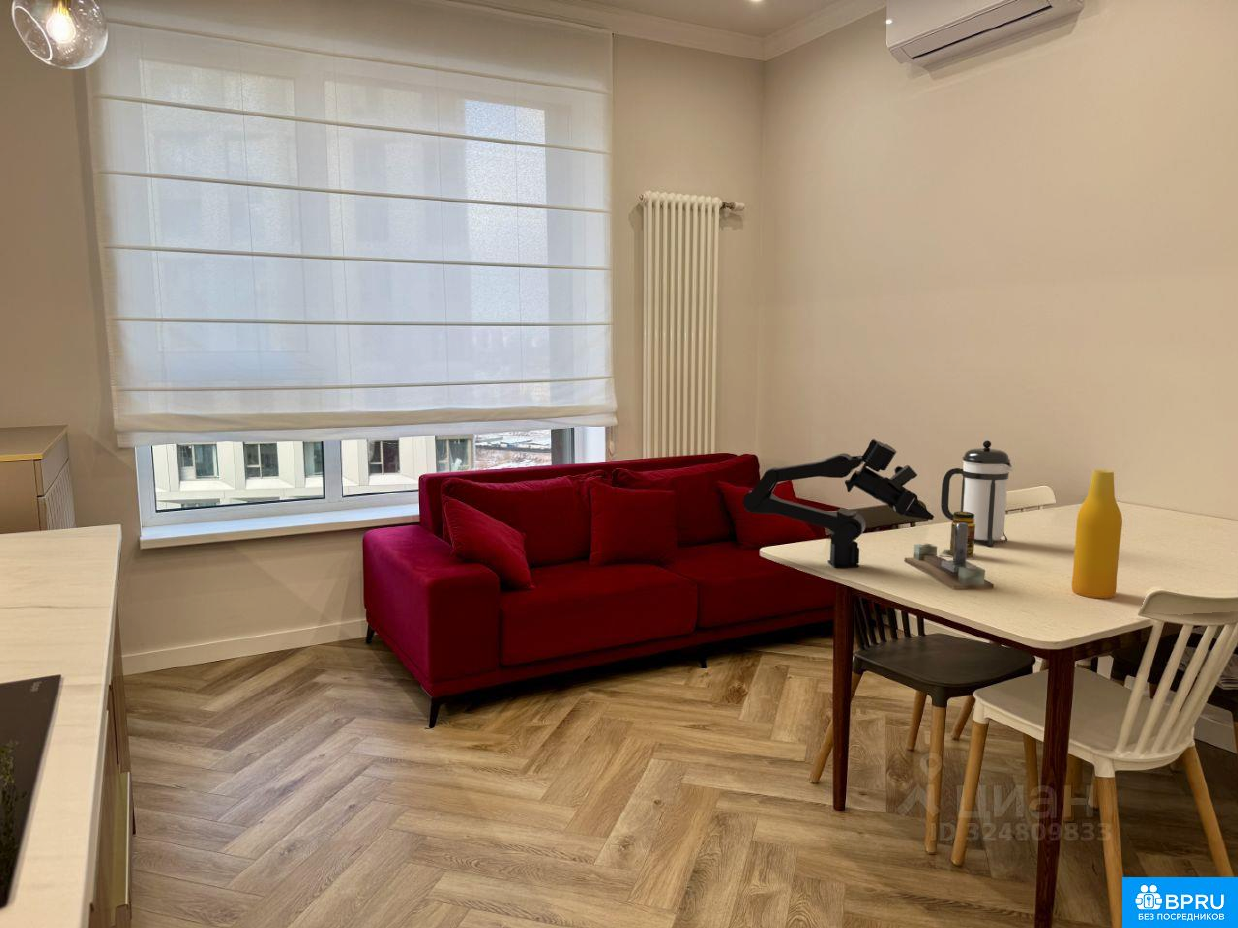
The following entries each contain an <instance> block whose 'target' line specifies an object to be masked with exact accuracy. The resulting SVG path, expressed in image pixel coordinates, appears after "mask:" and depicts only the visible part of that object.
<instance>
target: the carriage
mask: <svg viewBox="0 0 1238 928" xmlns="http://www.w3.org/2000/svg"><path fill="white" fill-rule="evenodd" d="M967 538H968V523H964V522H956V523H955V535H954V552H953V557H952V560H951V559H949V560H947V559H945V560H946V561H942V567H944V568H946V569H948V570H950V571H952V572H959V567H967V566H975V567H978V566H977V565H976V564H974V563H972V562H969V561H968V560H967V559H966V554H967Z"/></svg>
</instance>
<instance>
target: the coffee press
mask: <svg viewBox="0 0 1238 928" xmlns="http://www.w3.org/2000/svg"><path fill="white" fill-rule="evenodd" d="M982 446H983V448H972V449H969V450H967V451H966V452H965V453H964V456H962V461H963V468H960V467H955V468H954V467H953V468H952V469H948V470H947V472H945V474H944V476H943V479H942V485H941V486H942V487H941V499H940V500H941V512H942V514H943V515H944V517H945V518H947V520H950V521H952V522H953V517H954V515H953V514H954V513H952V512H950V509H949V498H950V497H949V496H950V495H949V493H950V483H951V482H950V481H951V478H952V477H953V475H961V476H962V480H961V481H962V482H961V485H962V486H961V500H960V501H961V502H960V511H963V512H970V513H973V514H974V521H973V522H974V524H975V531H974V541H975V540H976V541H984V542H985V545H986V546H987V548H988V547H990V548H991V547H994V541H997V540H1000V541H1001V542H1002V543H1006V542H1007V541H1008V538H1007V536H1006V535H1005V519H1006V518H1005V517H1006V504H1007V503H1006V502H1007V490H1008V489H1007V487H1008V479H1009V471H1011V472H1012V471H1013V470H1014V468H1013V466H1012V463H1011V459H1010V457H1009V455H1008V453H1006V452H1005V451H1003V450H1001V449H996V448H995V449H994V448H990V447H992V442H991V441H990V440H985V441H983V443H982ZM1002 538H1004V540H1002Z"/></svg>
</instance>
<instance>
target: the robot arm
mask: <svg viewBox="0 0 1238 928" xmlns="http://www.w3.org/2000/svg"><path fill="white" fill-rule="evenodd" d="M896 454H897V450H896V449H895V448H893V447H892V446H891V445H889V444H887V443H884V442H882V441H879V440H876V439H875V438H872V439H871V440H870V442H869V443H868V447H867V448H866V450H865V451H864V453H863V454H862V455H861V454H859V455H855V456H854V455H853V456H851V455H850V454H848V453H843V452H842V453H839V454H836V455H833V456H831V457H827V458H825V459H821V460H818V461H815V462H808V463H801V464H800V463H799V464H794V465H788V466H787V465H786V466H781V467H774V466H773V467H771V468H769V469H767V470H766V471H765V472H764V474H763V476H762V477H761V479H760V480H759V481H758V482H757V484H756V485H755V486H754V487H753V489H752V490H750V491H748V492H747V493H745V494H744V496H743V498H742V505H743V508H744V509H745V511H747V512H749V513H751V514H752V513H753V514H761V515H762V514H763V515H765V514H766V515H779V516H781V517H786V518H789V519H793V520H797V521H800V522H804V523H807V524H812V525H815V526H819V527H822V528H826V529H827V530H829V531H830V532H831V533H832V534H831V536H830V537H829V539H830V545H829V546H830V550H829V559H828V560H826V561H827V563H828V564H829V565H831V566H832V567H834V568H836V569H840V568H841V569H842V568H843V569H847V568H849V569H850V568H852V569H853V568H860V565H859V562H860V561H859V560H860V558H859V557H860V548H859V547H858V545H859V543H858V542H857V541H856V540H857V538H859V537H861V535H862V533H863V532H864V531H865V529H866V520H865V519H864V517H863V516H862V515H861V514H858V513H857V512H858V511H857V510H853V511H851V510H849V509H846V508H843V507H840V509H838V510H837V511H836V512H831V511H828V510H823V509H820V508H815V507H813V506H812V507H811V506H808V505H804V504H800V503H797V502H793V501H790V500H785V499H782V498H780V497H778V496H777V495H775V494H774V493H773V491H774V489H776V486H777V484H778V483H782V482H788V481H795V480H802V479H808V478H817V477H821V478H828V479H829V478H830V479H831V478H832V479H833V478H835V479H842V478H846V477H847V476H849V475H850V474H851V473H852V472H853V471H854V472H853V474H852V475H851V476H850V478H849V479H845V480H844V484H845V486H846V489H847V493H851V491H852V489H853V488H854V487H855V488H856V489H859V490H860V491H863V493H865V494H867V495H869V496H871V497H872V498H874V499H876V500H878V501H880V502H881V503H883V504H885V505H887V506H888V507H890V508H891V509H893V511H894V512H895V513H897V514H898V515H901V516H903V517H909V518H917V519H922V520H930V521H933V520H934V518H935V515H933V514H932V513H931V512H930V511H928V510H927V509H926V508H925V507H924V506H923V505H921V504H920V503H919V499H918V495H917V494H916V493H915V492H914V491H913V492H912V491H911V490H909V489H907V488H906V487H905V485H906V484H907V483H909V482H910V481H911V480H912V479H915V478H917V476H918V474H917V472H916V471H915V470H914V469H913V468H912V467H911V466H910V465H908V464H907V465H903V466H901V465H897V466H896V467H895V468H894V469H893V470H894V474H893V475H892V476H890V478H889V477H886V476H885V477H884V476H882V475H881V474H879V472H880V471H886V469H887V468H888V467H889V465H890V463H891V462H892V460H893V458H895V455H896ZM861 465H862V466H861ZM860 466H861V468H860V469H859V470H855V469H856V468H858V467H860Z"/></svg>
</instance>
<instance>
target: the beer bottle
mask: <svg viewBox="0 0 1238 928" xmlns="http://www.w3.org/2000/svg"><path fill="white" fill-rule="evenodd" d="M1089 484H1090V485H1089V489H1088V493H1087V497H1086V498H1085V500H1084V501H1083V503H1082V505H1081V506H1080V509H1079V510H1078V513H1077V517H1076V528H1075V529H1076V530H1075V541H1074V555H1073V567H1072V576H1071V577H1072V578H1071V590H1072V592H1073V593H1074V594H1076V595H1077V596H1082V597H1086V598H1090V599H1103V600H1104V599H1105V600H1106V599H1112V598H1114V597H1115V596H1116V593H1117V588H1118V587H1117V586H1118V583H1117V582H1118V573H1119V558H1120V548H1121V547H1120V546H1121V536H1122V535H1121V534H1122V524H1123V516H1122V512H1121V509H1120V507H1119V505H1118V502H1117V500H1116V493H1115V492H1116V491H1115V473H1114V471H1112V470H1106V469H1093V470H1092V474H1091V480H1090V483H1089Z"/></svg>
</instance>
